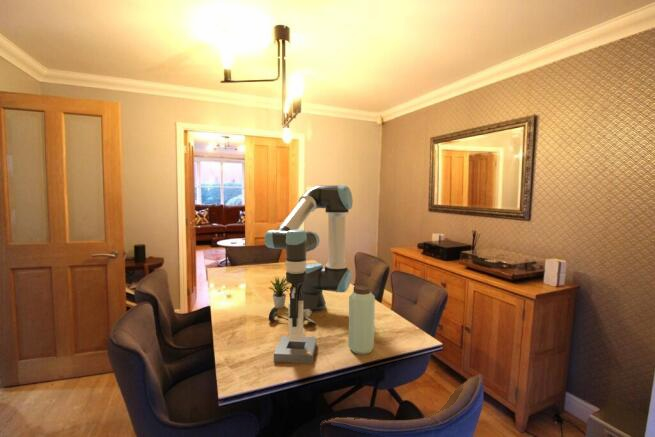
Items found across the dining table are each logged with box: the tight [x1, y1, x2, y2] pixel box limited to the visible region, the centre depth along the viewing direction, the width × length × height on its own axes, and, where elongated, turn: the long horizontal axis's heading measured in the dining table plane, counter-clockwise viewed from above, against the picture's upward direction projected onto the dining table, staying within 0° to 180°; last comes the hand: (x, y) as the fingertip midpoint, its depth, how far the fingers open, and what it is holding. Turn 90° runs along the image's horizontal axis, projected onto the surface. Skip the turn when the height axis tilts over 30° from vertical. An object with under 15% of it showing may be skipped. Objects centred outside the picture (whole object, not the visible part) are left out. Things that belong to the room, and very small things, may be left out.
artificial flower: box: [268, 306, 317, 325], centre depth 147 cm, size 9×22×10 cm, turn 72°
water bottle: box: [348, 284, 376, 355], centre depth 122 cm, size 10×10×25 cm
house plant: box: [267, 275, 291, 309], centre depth 166 cm, size 14×14×16 cm
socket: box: [273, 335, 317, 364], centre depth 120 cm, size 14×14×3 cm
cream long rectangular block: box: [287, 301, 304, 341], centre depth 119 cm, size 4×5×16 cm
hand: (296, 331), depth 119 cm, fingers closed on cream long rectangular block, 4 cm apart
